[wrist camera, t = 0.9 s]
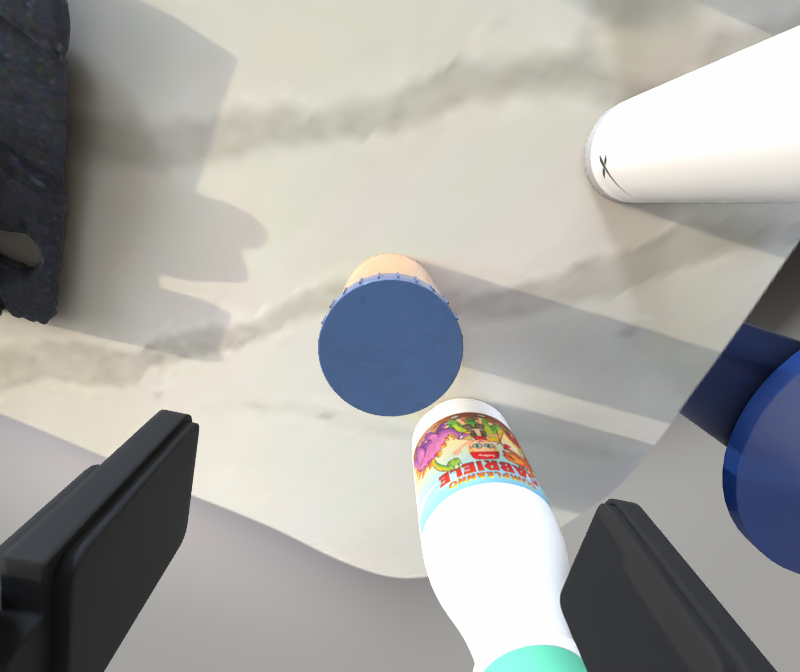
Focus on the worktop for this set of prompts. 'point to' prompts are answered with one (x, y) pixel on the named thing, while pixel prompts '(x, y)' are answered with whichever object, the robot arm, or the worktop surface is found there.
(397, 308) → the jam lid
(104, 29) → the worktop surface
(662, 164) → the travel mug
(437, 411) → the milk bottle
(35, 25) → the dark slate chunk
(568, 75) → the worktop surface
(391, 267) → the honey jar
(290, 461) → the worktop surface
